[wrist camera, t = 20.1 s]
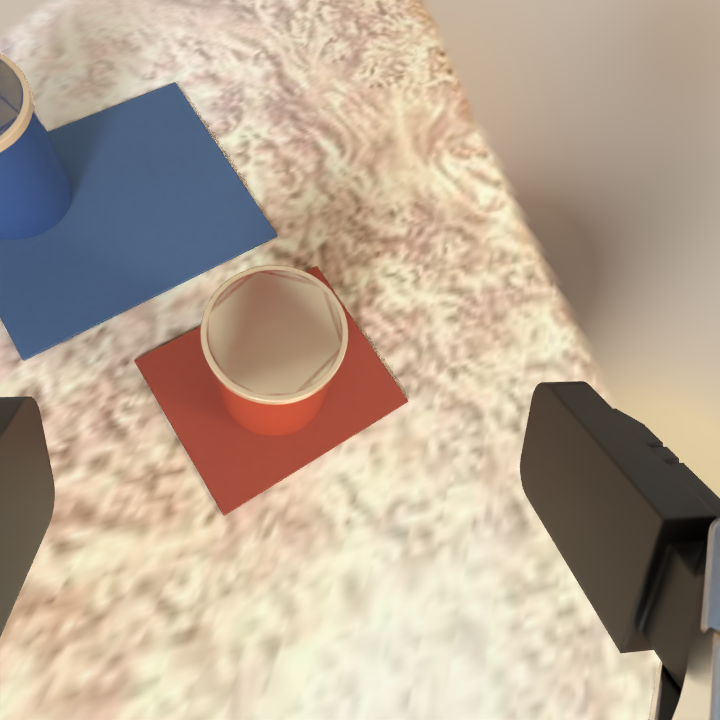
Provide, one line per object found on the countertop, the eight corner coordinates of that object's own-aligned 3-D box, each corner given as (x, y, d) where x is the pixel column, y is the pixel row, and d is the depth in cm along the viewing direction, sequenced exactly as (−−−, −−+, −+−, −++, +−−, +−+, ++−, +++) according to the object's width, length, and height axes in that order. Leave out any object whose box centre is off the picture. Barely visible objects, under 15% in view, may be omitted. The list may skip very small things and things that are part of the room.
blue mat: (24, 360, 35) (22, 359, 35) (-72, 181, 37) (-74, 179, 37) (277, 236, 39) (277, 234, 39) (175, 84, 42) (175, 82, 42)
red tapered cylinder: (252, 462, 34) (248, 429, 27) (193, 363, 36) (173, 305, 28) (353, 401, 36) (376, 354, 29) (293, 309, 38) (299, 242, 30)
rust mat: (223, 515, 33) (223, 515, 33) (134, 361, 36) (134, 360, 35) (407, 402, 37) (408, 401, 37) (316, 267, 39) (316, 265, 39)
